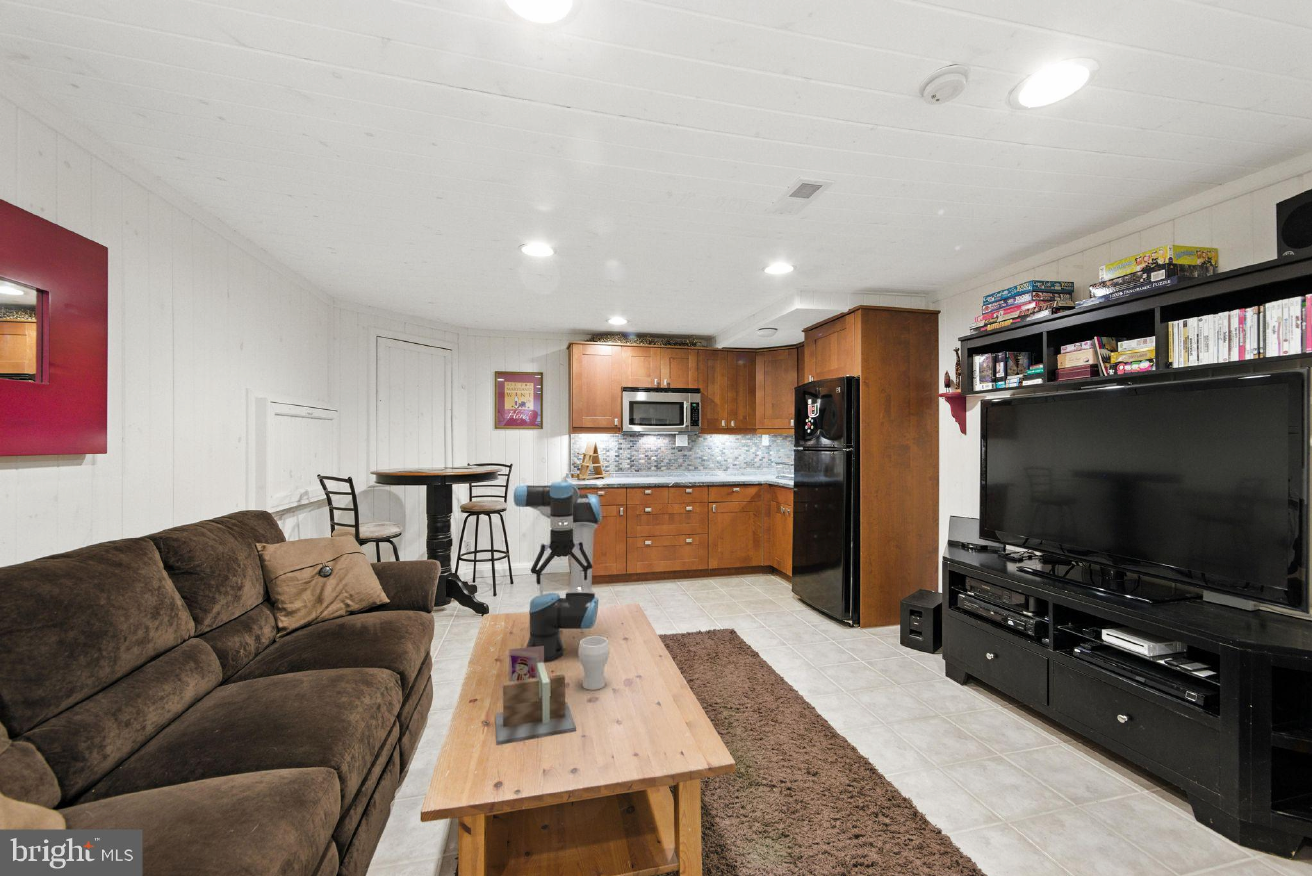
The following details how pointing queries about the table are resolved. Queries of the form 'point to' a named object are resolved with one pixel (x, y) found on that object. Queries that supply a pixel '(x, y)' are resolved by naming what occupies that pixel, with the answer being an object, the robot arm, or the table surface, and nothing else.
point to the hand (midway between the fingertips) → (562, 592)
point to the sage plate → (544, 692)
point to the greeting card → (524, 662)
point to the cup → (593, 661)
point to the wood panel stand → (532, 711)
